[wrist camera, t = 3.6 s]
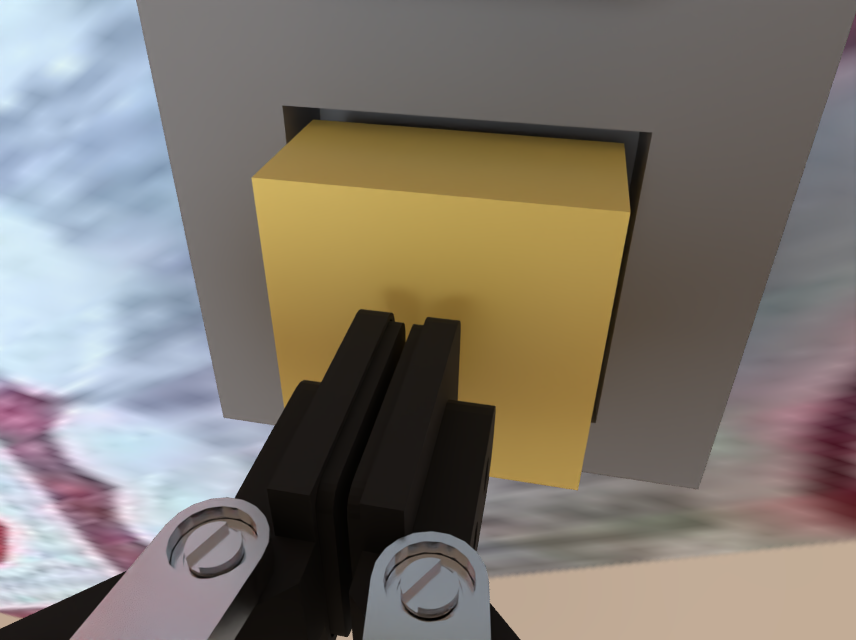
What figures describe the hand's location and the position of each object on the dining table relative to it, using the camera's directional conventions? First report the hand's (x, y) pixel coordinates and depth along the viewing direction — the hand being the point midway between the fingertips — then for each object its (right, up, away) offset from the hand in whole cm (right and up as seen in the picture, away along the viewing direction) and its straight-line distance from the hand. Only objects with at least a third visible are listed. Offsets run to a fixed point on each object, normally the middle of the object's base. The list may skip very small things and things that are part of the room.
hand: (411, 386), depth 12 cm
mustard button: (+1, +2, +3) cm, 4 cm away
